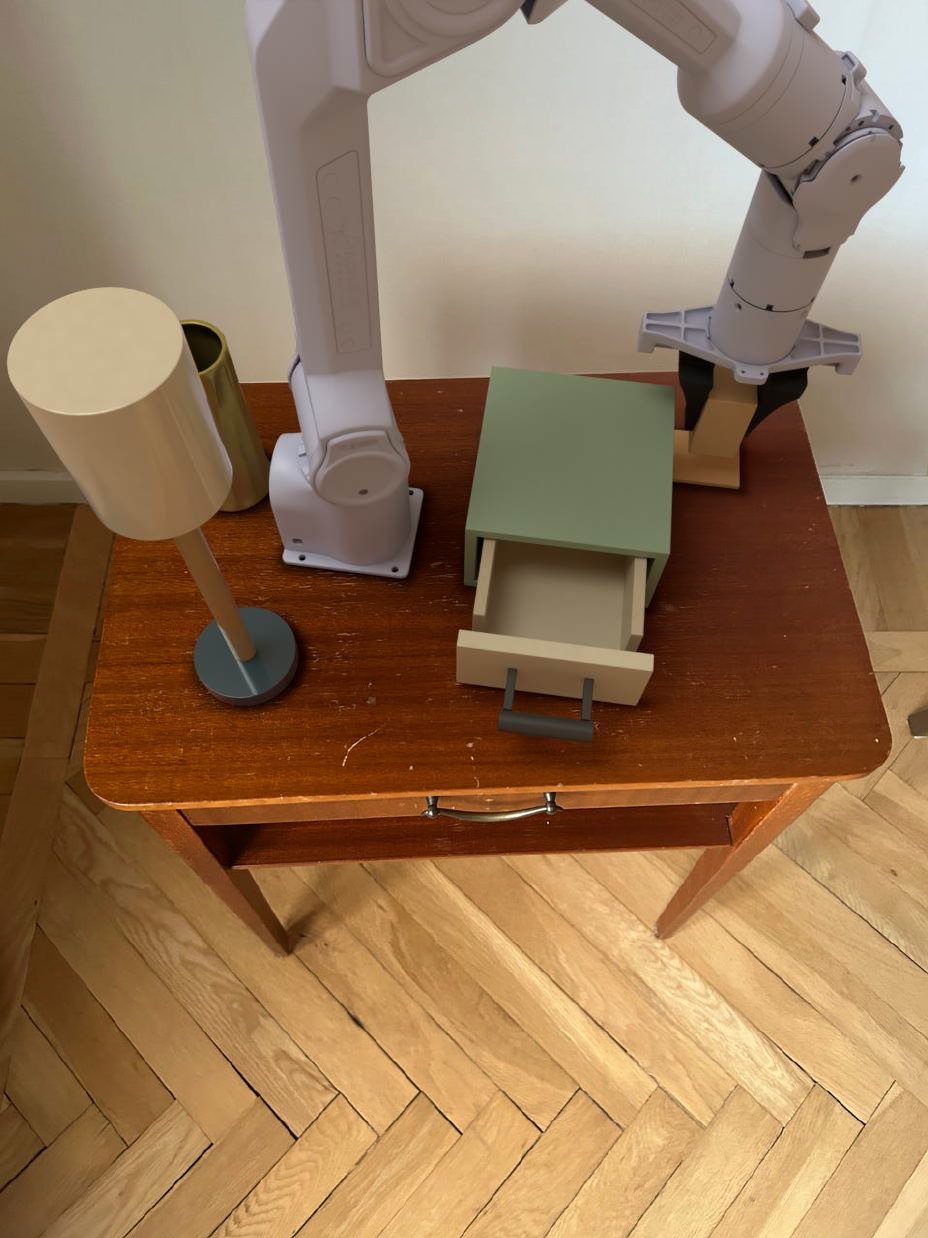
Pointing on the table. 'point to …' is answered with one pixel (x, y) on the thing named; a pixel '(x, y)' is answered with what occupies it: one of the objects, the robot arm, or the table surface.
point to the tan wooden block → (723, 416)
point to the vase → (229, 415)
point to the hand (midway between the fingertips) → (715, 423)
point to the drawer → (556, 632)
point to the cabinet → (574, 467)
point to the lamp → (148, 458)
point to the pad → (703, 466)
